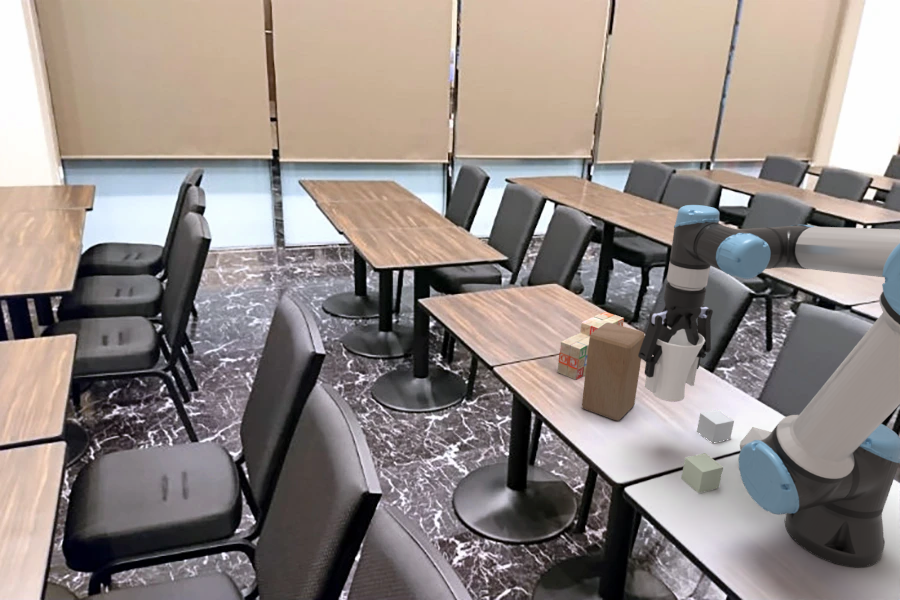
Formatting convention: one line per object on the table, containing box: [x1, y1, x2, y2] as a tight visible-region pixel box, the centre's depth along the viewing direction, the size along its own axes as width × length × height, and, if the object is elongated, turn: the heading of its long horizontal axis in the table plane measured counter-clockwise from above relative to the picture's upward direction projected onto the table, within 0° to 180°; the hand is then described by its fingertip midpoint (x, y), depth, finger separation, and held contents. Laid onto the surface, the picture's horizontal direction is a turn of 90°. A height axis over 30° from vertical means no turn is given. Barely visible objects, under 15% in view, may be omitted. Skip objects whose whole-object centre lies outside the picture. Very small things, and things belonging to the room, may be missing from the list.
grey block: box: [739, 426, 772, 450], centre depth 131 cm, size 8×9×10 cm
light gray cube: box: [696, 409, 735, 444], centre depth 142 cm, size 5×5×5 cm
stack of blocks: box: [557, 311, 625, 381], centre depth 173 cm, size 21×6×12 cm, turn 135°
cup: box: [652, 326, 705, 403], centre depth 130 cm, size 10×10×14 cm
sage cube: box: [681, 452, 724, 494], centre depth 125 cm, size 5×5×5 cm
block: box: [581, 323, 645, 421], centre depth 149 cm, size 10×10×20 cm
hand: (669, 386), depth 132 cm, fingers closed on cup, 9 cm apart
